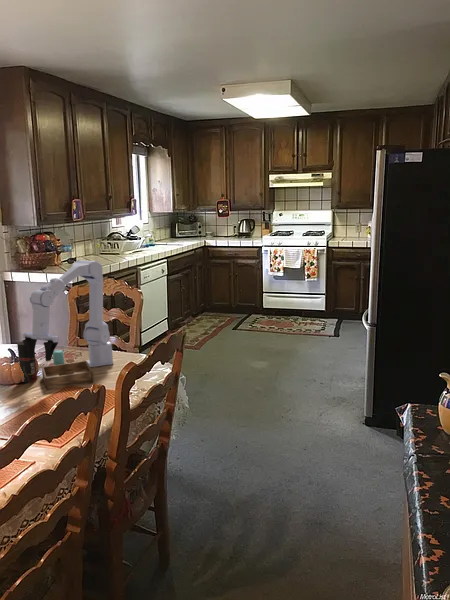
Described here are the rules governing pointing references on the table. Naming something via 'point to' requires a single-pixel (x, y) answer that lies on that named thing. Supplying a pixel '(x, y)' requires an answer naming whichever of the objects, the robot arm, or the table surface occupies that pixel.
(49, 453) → the table surface
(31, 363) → the deodorant
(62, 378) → the box
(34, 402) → the table surface
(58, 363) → the peg
